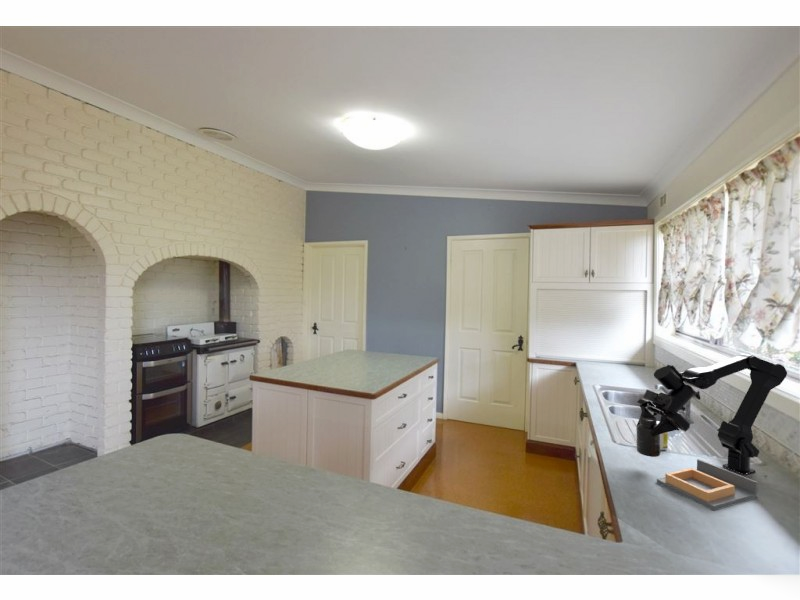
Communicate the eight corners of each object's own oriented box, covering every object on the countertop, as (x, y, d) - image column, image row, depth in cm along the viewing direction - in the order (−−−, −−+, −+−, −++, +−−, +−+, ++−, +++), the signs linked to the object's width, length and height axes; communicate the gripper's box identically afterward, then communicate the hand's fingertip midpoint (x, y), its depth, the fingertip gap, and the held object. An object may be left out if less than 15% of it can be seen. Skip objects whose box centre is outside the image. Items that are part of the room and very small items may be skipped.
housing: (698, 472, 126) (698, 459, 126) (757, 497, 111) (757, 481, 111) (656, 482, 119) (657, 468, 119) (713, 510, 104) (713, 493, 104)
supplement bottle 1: (652, 449, 131) (653, 415, 131) (664, 457, 125) (665, 422, 124) (632, 448, 132) (632, 414, 132) (643, 457, 125) (643, 421, 125)
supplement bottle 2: (664, 445, 148) (665, 421, 148) (669, 451, 143) (670, 425, 143) (648, 443, 150) (649, 419, 150) (653, 449, 145) (653, 424, 145)
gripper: (642, 376, 137) (612, 406, 137) (681, 389, 119) (646, 424, 119) (663, 397, 137) (633, 427, 138) (705, 414, 119) (670, 448, 119)
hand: (644, 431), depth 128 cm, fingers closed on supplement bottle 1, 7 cm apart
